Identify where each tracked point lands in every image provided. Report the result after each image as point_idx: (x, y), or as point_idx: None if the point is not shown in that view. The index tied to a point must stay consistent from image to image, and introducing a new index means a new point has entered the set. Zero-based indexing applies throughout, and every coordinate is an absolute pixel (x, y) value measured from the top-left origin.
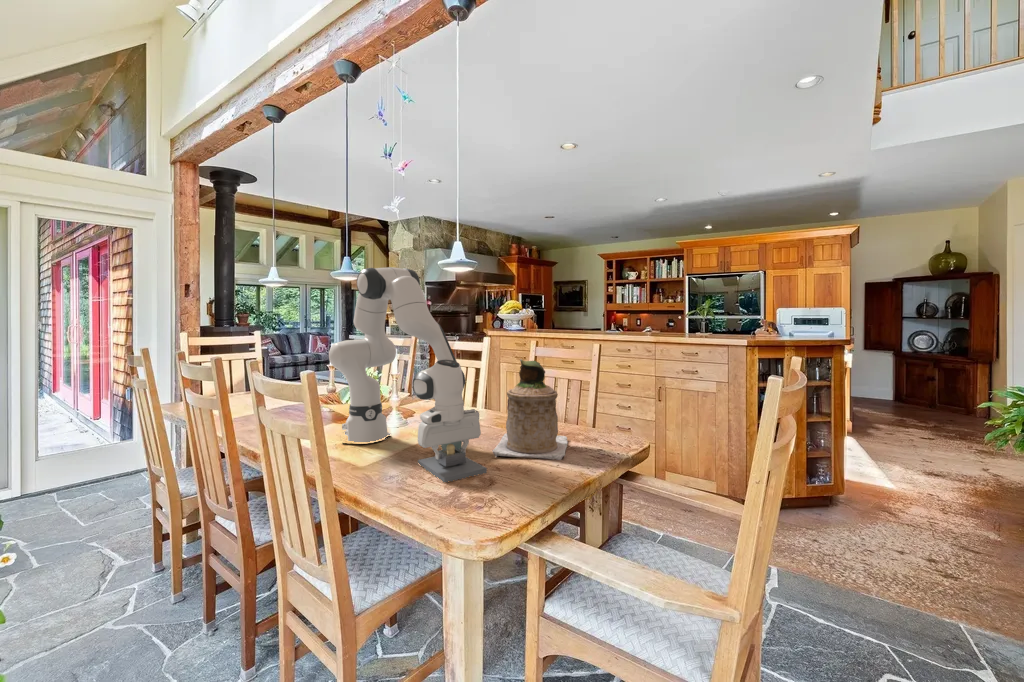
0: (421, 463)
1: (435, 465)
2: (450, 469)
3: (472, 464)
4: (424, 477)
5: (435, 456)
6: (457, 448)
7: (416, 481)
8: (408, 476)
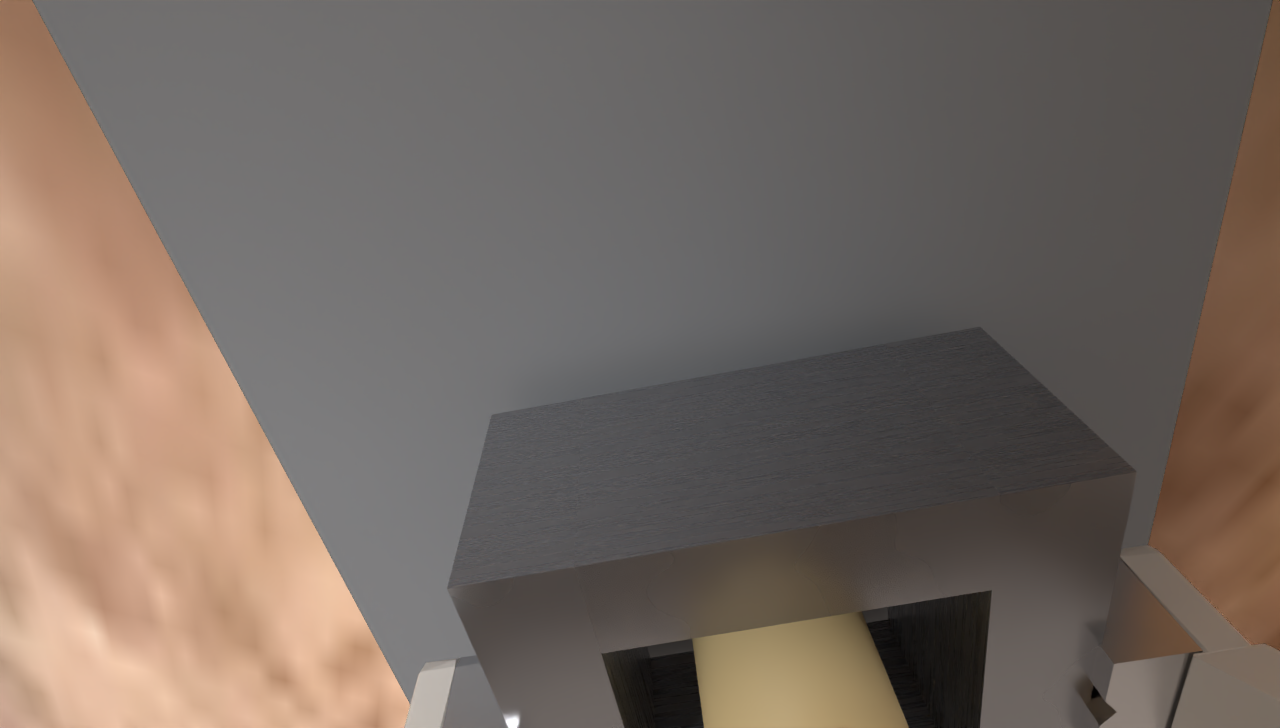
0: (159, 199)
1: (456, 505)
2: None
3: None
4: (282, 633)
5: (415, 690)
6: (1094, 594)
7: (178, 706)
8: (18, 532)
